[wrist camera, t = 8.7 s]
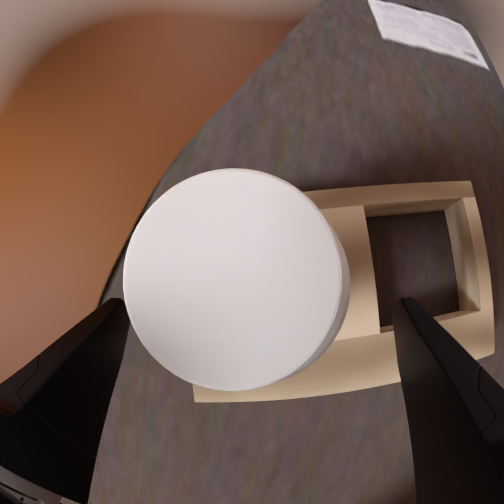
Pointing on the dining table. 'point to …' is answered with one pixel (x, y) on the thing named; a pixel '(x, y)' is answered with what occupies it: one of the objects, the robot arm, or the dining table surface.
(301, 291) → the pill bottle
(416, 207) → the board
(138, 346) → the dining table surface
